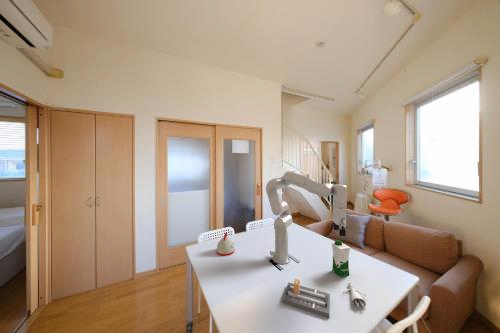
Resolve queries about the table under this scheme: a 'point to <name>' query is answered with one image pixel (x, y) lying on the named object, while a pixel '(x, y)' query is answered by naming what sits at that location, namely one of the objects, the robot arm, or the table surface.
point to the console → (308, 300)
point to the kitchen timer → (225, 246)
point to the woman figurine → (356, 295)
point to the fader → (296, 287)
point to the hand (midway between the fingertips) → (339, 232)
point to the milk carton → (340, 258)
